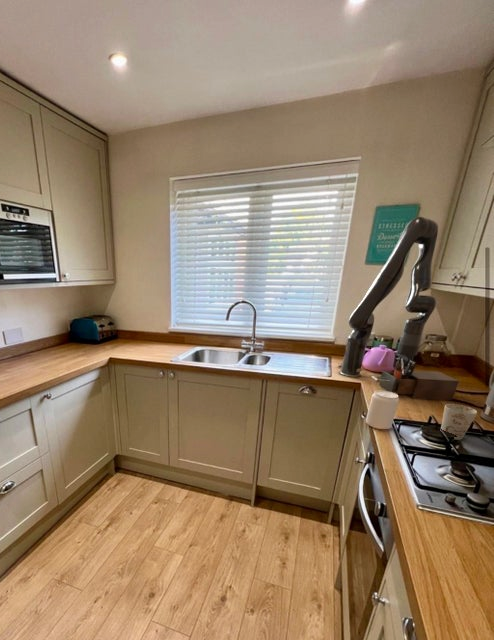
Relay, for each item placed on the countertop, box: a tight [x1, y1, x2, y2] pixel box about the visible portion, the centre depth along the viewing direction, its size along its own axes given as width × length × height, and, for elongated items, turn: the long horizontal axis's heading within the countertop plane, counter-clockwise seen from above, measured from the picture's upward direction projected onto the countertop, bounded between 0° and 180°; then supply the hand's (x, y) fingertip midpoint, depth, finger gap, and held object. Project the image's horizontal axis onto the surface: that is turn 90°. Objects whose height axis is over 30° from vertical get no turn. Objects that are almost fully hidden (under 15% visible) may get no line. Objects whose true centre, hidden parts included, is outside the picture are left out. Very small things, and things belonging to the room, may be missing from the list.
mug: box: [440, 403, 478, 441], centre depth 111 cm, size 8×13×10 cm, turn 135°
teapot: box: [362, 344, 398, 373], centre depth 181 cm, size 22×22×14 cm
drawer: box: [371, 371, 417, 395], centre depth 150 cm, size 21×12×7 cm, turn 83°
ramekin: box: [393, 369, 409, 383], centre depth 149 cm, size 6×6×5 cm
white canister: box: [365, 390, 400, 430], centre depth 116 cm, size 8×8×12 cm
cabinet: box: [407, 369, 460, 401], centre depth 149 cm, size 16×14×9 cm
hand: (399, 380), depth 149 cm, fingers closed on ramekin, 5 cm apart
